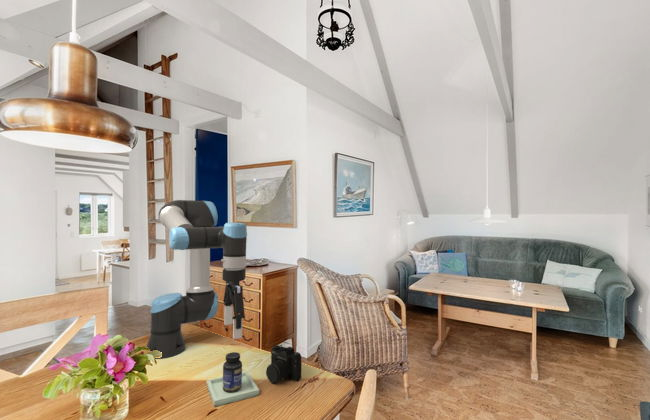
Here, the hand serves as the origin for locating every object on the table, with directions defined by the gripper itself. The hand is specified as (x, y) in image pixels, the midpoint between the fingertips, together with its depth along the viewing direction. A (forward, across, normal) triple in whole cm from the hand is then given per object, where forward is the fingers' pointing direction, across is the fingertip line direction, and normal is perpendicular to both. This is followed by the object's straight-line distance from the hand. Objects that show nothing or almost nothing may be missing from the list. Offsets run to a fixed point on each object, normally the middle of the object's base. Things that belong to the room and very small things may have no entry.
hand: (232, 330), depth 109 cm
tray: (+19, +2, 0) cm, 19 cm away
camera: (+19, +1, +17) cm, 26 cm away
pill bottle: (+19, +2, 0) cm, 19 cm away
